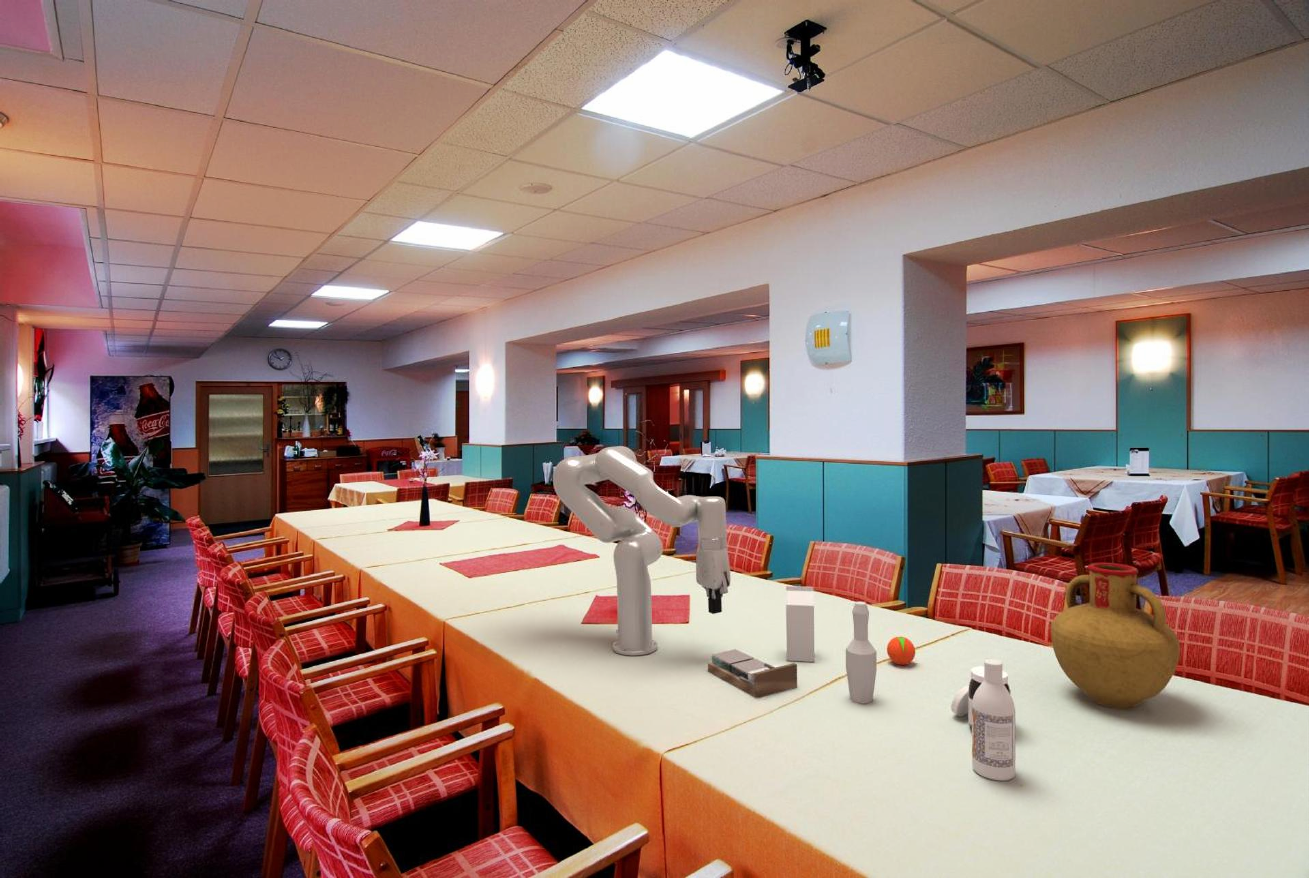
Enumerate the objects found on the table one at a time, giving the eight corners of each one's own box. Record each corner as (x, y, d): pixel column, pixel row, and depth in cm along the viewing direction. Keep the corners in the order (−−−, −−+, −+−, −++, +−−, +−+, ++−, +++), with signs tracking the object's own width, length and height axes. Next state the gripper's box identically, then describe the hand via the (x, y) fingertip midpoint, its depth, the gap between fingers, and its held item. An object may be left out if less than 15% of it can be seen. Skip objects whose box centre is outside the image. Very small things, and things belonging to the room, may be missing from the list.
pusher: (748, 688, 162) (748, 672, 162) (779, 680, 167) (778, 664, 166) (751, 690, 161) (751, 673, 161) (782, 682, 166) (782, 665, 165)
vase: (1026, 690, 158) (1026, 561, 158) (1095, 673, 168) (1095, 552, 167) (1133, 733, 137) (1134, 584, 136) (1205, 711, 146) (1206, 571, 145)
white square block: (731, 678, 170) (731, 664, 170) (756, 672, 174) (755, 658, 174) (749, 688, 163) (749, 674, 163) (775, 682, 167) (774, 667, 167)
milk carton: (814, 662, 179) (813, 590, 178) (786, 661, 180) (785, 589, 180) (813, 653, 186) (813, 583, 185) (787, 651, 187) (786, 583, 187)
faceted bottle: (861, 707, 151) (860, 608, 150) (840, 697, 157) (840, 601, 156) (882, 701, 154) (881, 604, 153) (861, 691, 160) (860, 597, 159)
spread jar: (1008, 743, 134) (1008, 684, 133) (946, 730, 140) (945, 673, 139) (1013, 719, 144) (1013, 664, 143) (955, 708, 150) (955, 655, 149)
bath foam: (978, 758, 128) (978, 652, 127) (1019, 770, 123) (1019, 660, 123) (967, 773, 123) (966, 662, 122) (1009, 786, 118) (1009, 671, 118)
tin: (712, 667, 177) (711, 654, 177) (735, 662, 181) (735, 649, 181) (729, 677, 171) (729, 663, 171) (753, 671, 175) (753, 657, 174)
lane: (707, 670, 174) (707, 649, 174) (745, 661, 180) (745, 640, 180) (757, 698, 157) (756, 673, 157) (797, 687, 163) (796, 663, 163)
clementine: (918, 671, 172) (918, 643, 172) (889, 669, 173) (889, 641, 173) (912, 659, 180) (912, 632, 179) (885, 658, 181) (885, 631, 181)
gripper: (685, 541, 186) (688, 608, 186) (717, 549, 173) (720, 621, 173) (708, 538, 190) (710, 604, 190) (741, 545, 177) (743, 616, 177)
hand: (715, 612), depth 182 cm, fingers closed
